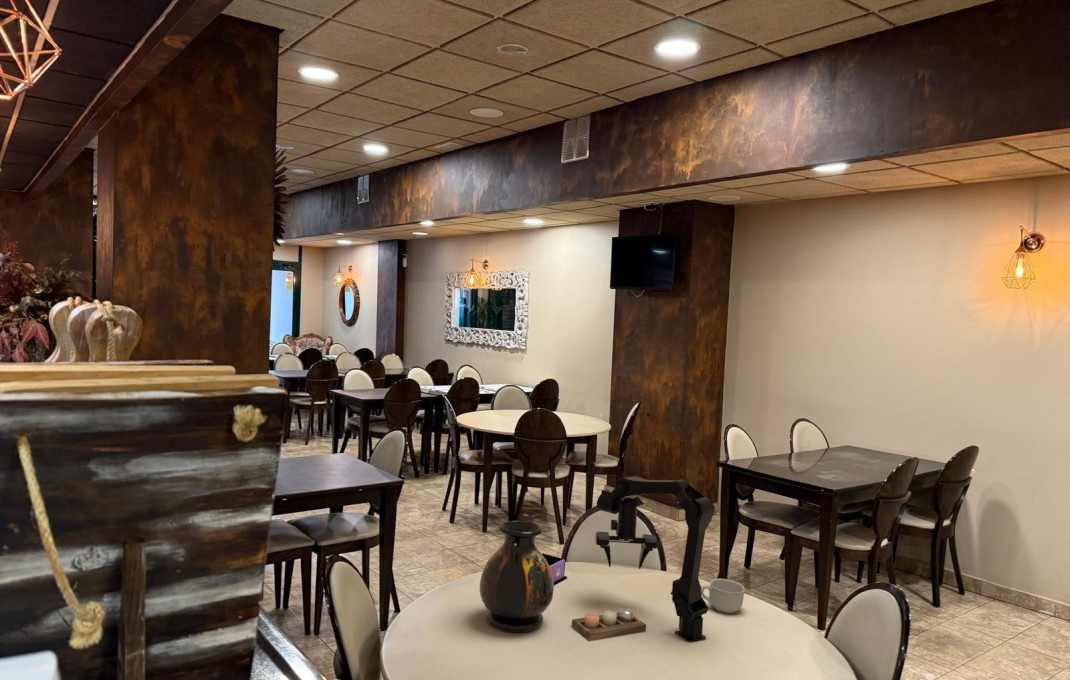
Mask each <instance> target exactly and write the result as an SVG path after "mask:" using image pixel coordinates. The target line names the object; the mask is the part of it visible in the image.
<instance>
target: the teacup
mask: <svg viewBox="0 0 1070 680" xmlns="http://www.w3.org/2000/svg"><path fill="white" fill-rule="evenodd" d="M709 584H710V585H708V584H703V585H701V596H702V598H703V600H706V601H707V602H708V603H709V604H710V605H711V606H713V608H714V609H715V610H716V611H718V612H719V613H720V612H721V613H724V612H725V613H726V614H733V613H736V612H737V611H739V610H741V608H743V607H742V606H743V604H744V603H743V602H744V596H745V591H746V589H745V587H744V585H742V584H741V583H740V582H737V581H735V580H731V579H726V578H715V579H712V580H710V582H709ZM706 589H707V590H708V593H709V594H708V596H709V597H708V596H707V595H705V593H704V591H705V590H706ZM725 613H724V614H725Z"/></svg>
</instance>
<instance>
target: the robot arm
mask: <svg viewBox="0 0 1070 680" xmlns="http://www.w3.org/2000/svg"><path fill="white" fill-rule="evenodd" d="M640 494H658V495H659V494H662V495H663V494H665V495H667V494H668V495H674V497H675V498H676V500H677V502H678V505H679V507H681V508H682V509H683V511H684V519H685V523H686V526H687V534H686V541H685V548H684V555H683V562H682V568H681V574H680V577H679V578H677V579H675V580H673V581H672V584H671V585H672V586H671V587H672V589H671V592H670V596H671V601H672V603H673V605H674V608H675V613H676V616H677V617H679V620H678V622H679V623H678V630H675V631H674V633H675V634H676V635H678V636H679V637H681V638H682V639H683V640H685V641H687V642H689V643H691V642H696V641H702V640H706V639H707V636H706V635H704V634H703V627H704V625H703V623H704V617H703V615H707V613H708V611H709V605H708V604H707V603H706V601H705V599H704V598H703V597H702V595H701V587H702V585H701V583H700V580H699V575H700V569H701V561H702V555H703V548H704V542H705V535H706V532H707V531H706V530H707V528H708V526H709V525H710V523H711V522H712V520H713V517H714V514H715V507H716V506H715V504H714V503H713V501H712V500H711V499H710V498H708V497H706V495H704V494H703V493H702V492H701V491H700V490H698V489H696V488H695V487H693V486H692V485H691V484H690V482H688V481H687V480H685V479H679V480H670V479H669V480H668V479H662V480H659V479H655V480H654V479H651V480H650V479H645V478H643V477H639V476H635V475H633V476H626V477H621V478H619V479H618V481H617V482H616V486H615V487H614V488H613V489H612V491H611V490H610V489H605V488H604V489H602V490H601V494H599V496H598V498H597V500H596V507H597V509H598V510H599V511H601V512H605V513H609V514H612V515H617V519H611V520H610V531H615V535H610V533H609V531H596V533H595V545H596V546H599V548H600V549H603V550H604V552H605V554H606V555H605V556H606V559H607V564H608V567H609V568H611V565H612V561H611V560H612V559H611V546H610V543H619V544H621V543H622V544H623V543H625V544H636V545H637V544H638V545H639V544H640V553H639V558H638V569H639V570H640V569H641V568H642V566H643V564H644V562H645V559H646V557H647V556H648V555H649V553H650V552H653V550H654V549H655V550H656V549H658V539H657V537H656V536H655V535H654V534H644V533H643V534H642V537H641V536H640V537H638V536H637V535H636V534H637V518H638V517H637V516H638V507H640V506H643V505H644V502H643V501H642V500H641V499H640V497H639V496H637V495H640ZM630 496H636V497H634V498H632V497H630ZM636 536H637V537H636Z"/></svg>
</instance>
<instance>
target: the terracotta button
mask: <svg viewBox="0 0 1070 680" xmlns="http://www.w3.org/2000/svg"><path fill="white" fill-rule="evenodd" d="M598 615H599V614H597V613H594V612H593V613H592V612H588V613H585V614H584V618H585V624H584V626H585V627H586V628H587V629H595V628H598V626H599V616H598Z"/></svg>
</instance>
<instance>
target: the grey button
mask: <svg viewBox="0 0 1070 680" xmlns="http://www.w3.org/2000/svg"><path fill="white" fill-rule="evenodd" d="M619 612H620V619H619V621H621V622H622V623H624V624H626V623H632V622H633V616H634V613H635V611H634V609H632V608H628V607H622V608H620V610H619ZM634 617H635V616H634Z"/></svg>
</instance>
